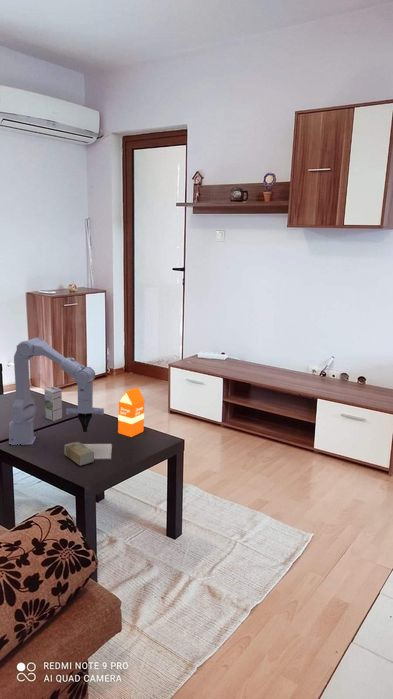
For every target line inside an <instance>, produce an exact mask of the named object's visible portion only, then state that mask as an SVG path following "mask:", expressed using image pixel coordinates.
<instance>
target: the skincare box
mask: <svg viewBox="0 0 393 699" xmlns="http://www.w3.org/2000/svg"><path fill="white" fill-rule="evenodd" d="M83 444H84V443H81V442H79V441H74V442H70V443H67V444H64V446H63V447H64V451H63V452H64V453H63V454H64V455H65V456H66V457H68V458H69V459H70V460H71V461H73V462H74V463H75V464H77V465H78V466H80V467H81V466H84V465H88V464H91V463H94V461H95V459H94V452H93V451H92V450H90V449H89V448H87V447H86V446H84V445H83Z"/></svg>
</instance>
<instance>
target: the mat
mask: <svg viewBox="0 0 393 699" xmlns="http://www.w3.org/2000/svg"><path fill="white" fill-rule="evenodd" d="M82 444H83V445H84V446H86V447H87V448H89V449H90V450H92V451H93V452H94V460H112V451H113V450H112V447H113V444H112V443H82Z"/></svg>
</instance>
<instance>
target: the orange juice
mask: <svg viewBox="0 0 393 699" xmlns="http://www.w3.org/2000/svg"><path fill="white" fill-rule="evenodd" d="M117 420H118V424H117V428H118V429H117V433H118V434H121V435H124V436H126V437H131V438H132V437H134V436H136V435H139V434H140V433H143V432H144V428H145V427H144V426H145V425H144V422H145V399H144V397H143V395H142V393H141V390H140V389H139V387H134V388H131V389H128V390H126V391H125V392H124V394H123V395H122V397H121V398H120V400H119V401H118V416H117Z"/></svg>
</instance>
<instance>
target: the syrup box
mask: <svg viewBox="0 0 393 699" xmlns="http://www.w3.org/2000/svg"><path fill="white" fill-rule="evenodd" d="M62 390H63V389H62V388H59V387H55V386H51V387H47V388H45V389H44V418H45V419H46V420H49V421H51V422H55V421H58V420H60V419H62V418H63V402H62V401H63V400H62V398H63V397H62V396H63V394H62V393H63V392H62Z"/></svg>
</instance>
